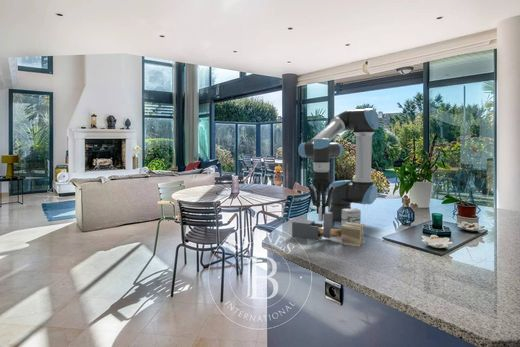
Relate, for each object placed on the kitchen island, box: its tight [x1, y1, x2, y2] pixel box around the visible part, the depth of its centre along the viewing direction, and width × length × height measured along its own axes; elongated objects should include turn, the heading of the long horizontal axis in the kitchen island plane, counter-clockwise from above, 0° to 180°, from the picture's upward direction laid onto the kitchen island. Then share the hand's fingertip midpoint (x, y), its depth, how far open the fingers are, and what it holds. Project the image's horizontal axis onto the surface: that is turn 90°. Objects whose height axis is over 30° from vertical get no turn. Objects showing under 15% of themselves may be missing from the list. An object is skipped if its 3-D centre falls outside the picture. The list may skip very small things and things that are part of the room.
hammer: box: [318, 211, 342, 239], centre depth 159 cm, size 4×18×12 cm, turn 61°
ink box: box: [340, 208, 362, 231], centre depth 171 cm, size 9×5×12 cm, turn 103°
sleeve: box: [291, 218, 323, 241], centre depth 163 cm, size 7×13×8 cm, turn 61°
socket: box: [341, 222, 365, 248], centre depth 152 cm, size 8×8×8 cm
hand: (320, 220), depth 159 cm, fingers closed
